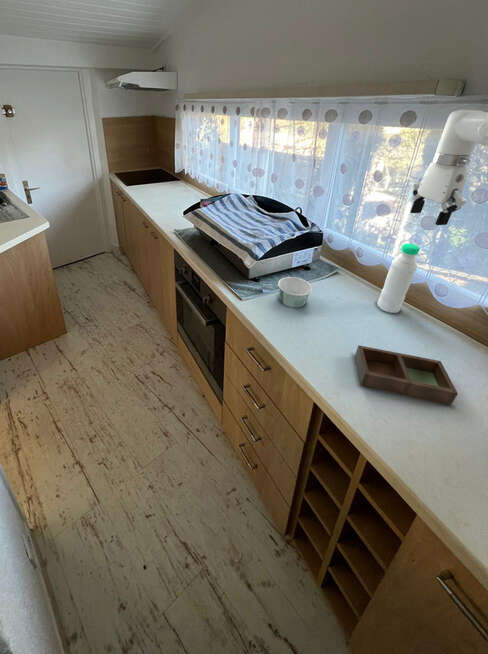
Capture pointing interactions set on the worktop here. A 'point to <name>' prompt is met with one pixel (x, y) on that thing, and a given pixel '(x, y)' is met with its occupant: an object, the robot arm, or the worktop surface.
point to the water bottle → (399, 279)
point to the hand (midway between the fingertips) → (427, 218)
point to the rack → (404, 375)
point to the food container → (294, 291)
